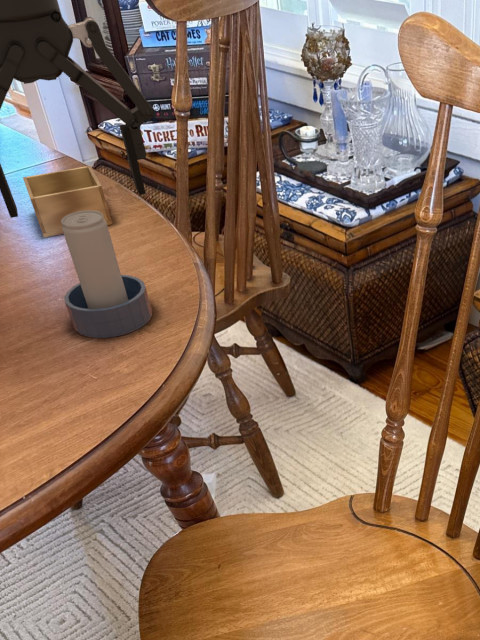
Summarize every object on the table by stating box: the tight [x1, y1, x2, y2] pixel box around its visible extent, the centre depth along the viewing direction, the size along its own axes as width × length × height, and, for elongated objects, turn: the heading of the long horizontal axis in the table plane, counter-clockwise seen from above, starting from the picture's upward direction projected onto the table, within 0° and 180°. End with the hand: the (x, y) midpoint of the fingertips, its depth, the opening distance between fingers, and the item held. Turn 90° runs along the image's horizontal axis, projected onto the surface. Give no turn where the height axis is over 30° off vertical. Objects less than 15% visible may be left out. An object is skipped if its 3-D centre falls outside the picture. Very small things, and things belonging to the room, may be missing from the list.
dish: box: [63, 274, 153, 339], centre depth 94 cm, size 9×9×4 cm
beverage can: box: [61, 210, 129, 309], centre depth 91 cm, size 5×5×12 cm
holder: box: [22, 165, 113, 238], centre depth 117 cm, size 10×10×6 cm
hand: (78, 202), depth 86 cm, fingers open, 13 cm apart
